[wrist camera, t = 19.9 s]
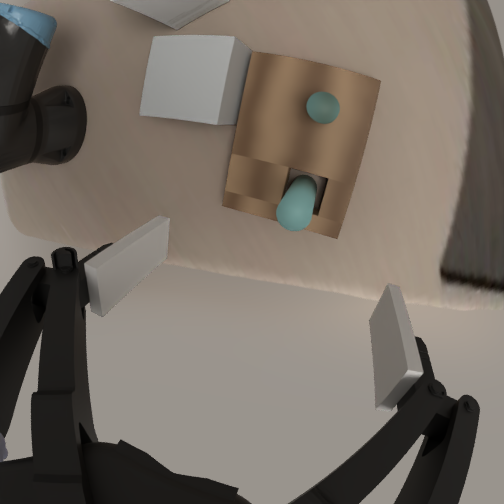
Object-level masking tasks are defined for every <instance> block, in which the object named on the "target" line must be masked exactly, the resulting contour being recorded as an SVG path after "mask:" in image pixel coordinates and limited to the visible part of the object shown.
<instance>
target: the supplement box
mask: <svg viewBox="0 0 504 504" xmlns="http://www.w3.org/2000/svg"><path fill="white" fill-rule="evenodd" d="M110 1H111V2H114V3H117V4H119V5H122V6H124V7H127V8H129V9H132V10H134V11H137V12H139V13H141V14H144V15H146V16H148V17H150V18H153V19H155V20H157V21H159V22H161V23H163V24H165V25H168V26H170V27H172V28H174V29H176V30H178V29H180V28H181V27H183V26H185V25H186V24H188V23H190V22H191V21H193V20H195V19H196V18H198V17H200V16H202V15H204V14H205V13H207V12H209V11H211V10H213V9H215V8H217V7H219V6H221V5H223V4H225V3H227V2H229V1H230V0H110Z"/></svg>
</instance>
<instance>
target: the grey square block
mask: <svg viewBox="0 0 504 504" xmlns="http://www.w3.org/2000/svg"><path fill="white" fill-rule="evenodd" d="M251 55H252V50H251V49H249V48H248V47H247V46H246V45H245V44H244V43H242V42H241V41H240V40H239V39H238V38H236V37H235V36H217V35H169V36H154V37H153V42H152V46H151V51H150V55H149V60H148V65H147V70H146V76H145V81H144V87H143V93H142V100H141V106H140V114H139V115H142V116H153V117H162V118H171V119H180V120H187V121H194V122H201V123H208V124H214V125H237V122H238V117H239V112H240V107H241V102H242V97H243V92H244V87H245V83H246V78H247V73H248V69H249V64H250V60H251Z"/></svg>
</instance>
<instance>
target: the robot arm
mask: <svg viewBox="0 0 504 504" xmlns="http://www.w3.org/2000/svg"><path fill="white" fill-rule="evenodd" d="M56 27H57V22H56V20H55V18H54V17H52V16H49V15H47V14H44V13H41V12H37V11H34V10H30V9H27V8H23V7H17V6H13V5H9V4H5V3H0V173H2V172H5V171H7V170H10V169H13V168H16V167H19V166H22V165H25V164H28V163H41V164H49V165H58V164H62V163H65V162H68V161H70V160H71V159H72V158H73V157H74V156H75V155H76V154H77V153H78V151H79V149H80V147H81V145H82V142H83V139H84V136H85V131H86V109H85V104H84V101H83V99H82V96H81V95H80V93H79V92H78V91H77V90H76V89H75V88H74V87H71V86H55V87H52V88H50V89H48V90H45V91H43V92H41V93H39V94H37V95H35V96H33V97H32V93H33V90H34V87H35V84H36V81H37V78H38V75H39V72H40V69H41V67H42V64H43V61H44V59H45V56H46V54H47V51H48V49H50V43H51V40H52V37H53V35H54V32H55V30H56ZM169 223H170V218H167V217H164V216H160V215H159V216H157V217H155V218H154V219H152V220H150V221H149V222H147V223H145V224H144V225H142V226H141V227H139V228H137V229H136V230H134V231H133V232H131V233H129V234H128V235H126V236H125V237H123V238H121V239H120V240H118V241H117V242H115V243H109V244H106V245H103V246H101V247H100V248H98V249H97V250H95V251H94V252H92V253H91V254H89V255H88V256H86V257H85V258H83V259H82V260H80V261H79V262H78V259H77V252H76V250H75V249H74V248H70V247H62V248H59V249H56V250H55V251H53V252H52V254H51V258H52V264H53V268H49V267H45V262H44V259H43V258H41V257H35V256H34V257H30V258H28V259H26V260H25V261H24V262H23V263H22V264H21V265H20V267H19V269H18V270H17V271H16V272H15V274H14V275H13V276H12V278H11V279H10V281H9V282H8V284H7V285H6V287H5V288H4V290H3V291H2V293H1V294H0V504H251V503H250V502H249V501H247V500H246V499H245V498H243V497H242V496H240V495H238V494H237V492H238V488H236V487H232V486H229V485H226V484H222V483H219V482H216V481H213V480H210V479H207V478H200V477H192V476H186V475H181V474H176V473H173V472H171V471H170V470H168V469H167V468H166V467H164V466H163V465H162V464H160V463H159V462H158V461H156V460H155V459H154V458H152V457H151V456H150V455H149V454H147V453H145V452H144V451H142V450H140V449H138V448H136V447H134V446H132V445H130V444H128V443H126V442H124V441H122V440H120V441H119V442H118V444H112V443H105V442H98V438H97V436H96V433H95V429H94V424H93V418H92V411H91V403H90V393H89V383H88V371H87V353H86V310H85V306H86V305H87V304H88V303H89V302H90V306H91V311H92V312H93V313H95V314H97V315H99V316H101V317H104V316H105V315H106V314H107V313H108V312H109V311H110V310H111V309H112V308H113V307H114V306H115V305H116V304H117V303H118V302H119V301H120V300H121V299H123V298H124V297H125V296H126V295H127V294H128V293H129V292H130V291H131V290H132V289H133V288H135V286H137V285H138V284H139V283H140V282H141V281H142V280H143V279H144V278H145V277H146V276H148V275H149V274H150V273H151V272H152V271H153V270H154V269H155V268H156V267H158V266H159V265H160V264H161V263H162V262H163V261H164V260H166V259H167V252H168V237H169ZM369 324H370V333H371V343H372V353H373V367H374V381H375V382H374V383H375V406H376V409H377V410H382V411H388V412H390V411H391V410H392V409H393V408H394V407H395V406H396V405H397V409H398V412H397V413H396V414H395V415H394V416H393V417H392V418H391V419H390V420H389V421H388V422H387V423H386V424H385V425H384V426H383V427H382V428H381V429H380V430H379V431H378V432H377V433H376V434H375V435H374V436H373V437H372V438H371V439H370V440H369V441H368V442H367V443H365V444H364V445H363V446H362V447H361V448H360V449H359V450H358V451H357V452H356V453H354V454H353V455H352V456H351V457H350V458H349V459H347V460H346V461H345V462H344V463H343V464H341V465H340V466H339V467H338V468H337V469H335V470H334V471H333V472H332V473H330V474H329V475H328V476H327V477H325V478H324V479H322V480H321V481H320V482H318V483H317V484H316V485H315V486H313V487H312V488H310V489H309V490H307V491H306V492H305V493H303V494H302V495H300V496H299V497H297V498H296V499H294V500H293V501H291V502H290V503H288V504H359V503H360V502H361V501H362V500H363V499H364V498H365V497H366V496H367V495H368V494H369V493H370V492H371V491H372V490H373V489H374V488H375V487H376V486H377V485H378V484H379V483H380V482H381V481H382V480H383V479H384V478H385V477H386V476H387V475H388V474H389V472H390V471H391V470H392V469H393V468H394V467H395V466H396V465H397V463H398V462H399V461H400V460H401V459H402V458H403V456H404V455H405V454H406V453H407V452H408V450H409V449H410V448H411V447H412V445H413V444H414V443H415V441H416V440H417V439H418V438H419V436H420V435H421V434H423V435H425V437H424V440H423V442H422V445H421V447H420V450H419V452H418V455H417V457H416V459H415V462H414V464H413V466H412V468H411V471H410V473H409V475H408V477H407V479H406V482H405V483H404V486H403V488H402V489H401V492H400V494H399V495H398V497H397V499H396V501H395V503H394V504H458V503H459V500H460V497H461V493H462V490H463V487H464V484H465V480H466V477H467V473H468V469H469V466H470V461H471V457H472V453H473V448H474V443H475V438H476V433H477V426H478V420H479V413H480V407H479V405H478V403H477V401H476V400H475V399H474V398H473V397H472V396H469V395H463V396H462V397H461V398H460V399H459V400H458V401H457V400H455V399H453V398H450V397H449V396H447V394H446V389H445V387H444V386H443V385H442V384H441V382H439V381H437V380H435V377H434V373H433V370H432V366H431V362H430V358H429V355H428V351H427V348H426V345H425V344H424V342H423V341H422V339H421V338H419V337H415V336H414V333H413V330H412V326H411V322H410V319H409V315H408V312H407V309H406V305H405V302H404V299H403V296H402V293H401V290H400V287H399V286H396V285H393V284H390V283H388V284H387V286H386V288H385V290H384V292H383V294H382V296H381V298H380V300H379V302H378V304H377V306H376V308H375V310H374V312H373V314H372V316H371V318H370V320H369ZM42 330H43V332H42ZM41 332H42V340H41V349H40V361H39V376H38V391H37V392H33V394H32V398H31V434H32V451H33V456H32V457H27V458H22V459H16V460H11V461H3V459H6V458H7V456H8V451H7V449H6V447H5V439H4V438H5V436H6V434H7V432H8V429H9V426H10V423H11V420H12V417H13V413H14V409H15V406H16V402H17V399H18V395H19V392H20V389H21V386H22V383H23V380H24V377H25V374H26V370H27V368H28V365H29V362H30V360H31V357H32V354H33V352H34V349H35V347H36V344H37V341H38V339H39V337H40V334H41Z"/></svg>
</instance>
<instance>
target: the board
mask: <svg viewBox="0 0 504 504" xmlns="http://www.w3.org/2000/svg"><path fill="white" fill-rule="evenodd" d="M380 83H381V81H380V80H377V79H374V78H371V77H368V76H365V75H362V74H358V73H355V72H352V71H348V70H344V69H341V68H337V67H333V66H329V65H325V64H321V63H317V62H312V61H307V60H303V59H297V58H292V57H287V56H281V55H275V54H268V53H261V52H253V51H252V55H251V60H250V64H249V69H248V73H247V78H246V83H245V87H244V92H243V97H242V102H241V107H240V112H239V117H238V122H237V127H236V132H235V137H234V143H233V148H232V153H231V159H230V164H229V170H228V176H227V181H226V187H225V193H224V199H223V205H222V206H224V207H227V208H231V209H235V210H239V211H242V212H246V213H250V214H253V215H257V216H260V217H264V218H267V219H271V220H274V221H278V220H277V216H276V210H277V207H278V205H279V203H280V202H281V200H282V199H283V197H284V195H285V191H286V187H287V183H288V179H289V175H290V171H291V168H293V169H297V170H301V171H304V172H308V173H312V174H315V175H319V176H322V177H325V178H328V179H327V183H326V187H325V190H324V194H323V197H322V201H321V204H320V208H319V209H316V208H313V213H312V218H311V221H310V223H309V225H308V226H307V227H306V228H304V229H305V230H309V231H312V232H316V233H319V234H322V235H325V236H329V237H332V238H335V239H337V238H338V235H339V232H340V229H341V226H342V223H343V220H344V217H345V214H346V211H347V208H348V205H349V201H350V198H351V195H352V192H353V188H354V185H355V182H356V178H357V175H358V171H359V168H360V164H361V161H362V157H363V153H364V150H365V146H366V142H367V138H368V135H369V131H370V127H371V123H372V119H373V114H374V110H375V106H376V102H377V97H378V93H379V88H380Z"/></svg>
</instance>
